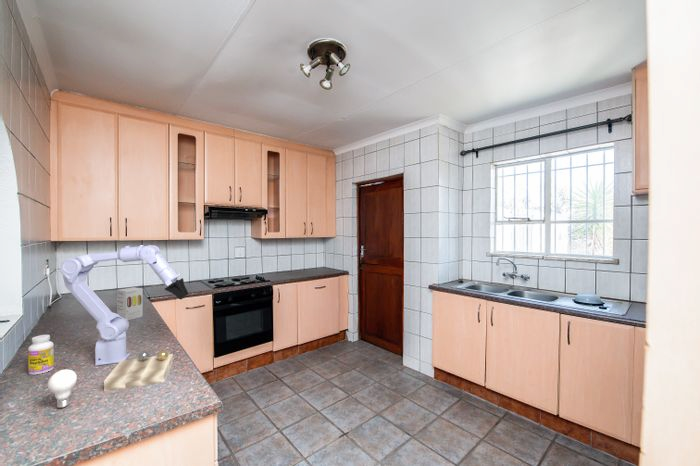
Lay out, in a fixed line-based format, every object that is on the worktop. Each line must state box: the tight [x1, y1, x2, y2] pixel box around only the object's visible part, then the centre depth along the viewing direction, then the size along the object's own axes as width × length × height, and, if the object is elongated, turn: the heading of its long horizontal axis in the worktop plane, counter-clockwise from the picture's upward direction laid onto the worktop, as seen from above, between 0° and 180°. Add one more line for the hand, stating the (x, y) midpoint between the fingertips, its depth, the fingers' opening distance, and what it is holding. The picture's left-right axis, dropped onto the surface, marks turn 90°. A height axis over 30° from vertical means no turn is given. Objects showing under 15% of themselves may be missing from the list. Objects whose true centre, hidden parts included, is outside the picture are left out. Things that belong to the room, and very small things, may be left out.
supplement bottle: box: [27, 334, 55, 376], centre depth 113 cm, size 7×7×13 cm
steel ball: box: [137, 350, 150, 361], centre depth 115 cm, size 4×4×4 cm
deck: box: [103, 353, 174, 392], centre depth 110 cm, size 17×16×4 cm
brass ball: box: [156, 349, 169, 360], centre depth 115 cm, size 4×4×4 cm
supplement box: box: [116, 286, 144, 321], centre depth 178 cm, size 10×9×17 cm
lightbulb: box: [47, 368, 78, 409], centre depth 91 cm, size 6×6×11 cm
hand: (184, 296), depth 128 cm, fingers open, 7 cm apart
